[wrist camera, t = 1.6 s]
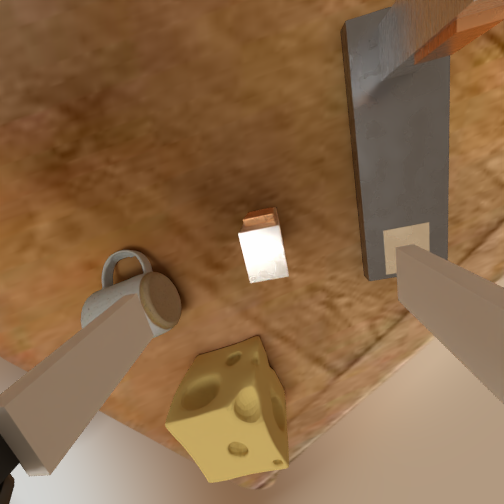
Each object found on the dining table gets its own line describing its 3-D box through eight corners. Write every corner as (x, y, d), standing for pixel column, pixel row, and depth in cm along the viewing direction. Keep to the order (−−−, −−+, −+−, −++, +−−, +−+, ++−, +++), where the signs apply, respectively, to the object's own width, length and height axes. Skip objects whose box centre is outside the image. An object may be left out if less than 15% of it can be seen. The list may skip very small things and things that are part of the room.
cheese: (259, 332, 32) (253, 399, 22) (288, 392, 34) (294, 474, 25) (191, 353, 34) (159, 424, 24) (224, 408, 36) (207, 491, 27)
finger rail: (340, 31, 21) (413, -123, 10) (438, 1, 20) (638, -209, 9) (364, 275, 28) (423, 340, 17) (438, 263, 27) (552, 324, 16)
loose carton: (248, 207, 27) (236, 225, 17) (275, 201, 26) (277, 216, 17) (257, 246, 28) (250, 283, 18) (283, 241, 27) (288, 276, 18)
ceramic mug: (193, 307, 31) (168, 346, 24) (142, 328, 33) (105, 370, 25) (149, 235, 29) (107, 254, 21) (98, 261, 30) (42, 287, 23)
